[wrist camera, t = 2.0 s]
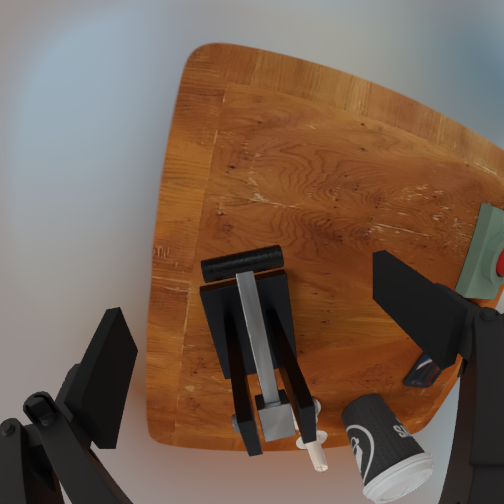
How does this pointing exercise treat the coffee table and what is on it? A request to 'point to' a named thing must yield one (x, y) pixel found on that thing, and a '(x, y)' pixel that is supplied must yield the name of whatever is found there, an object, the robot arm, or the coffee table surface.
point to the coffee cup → (384, 450)
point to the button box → (483, 256)
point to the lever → (257, 332)
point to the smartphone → (425, 370)
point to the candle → (314, 446)
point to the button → (500, 264)
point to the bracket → (241, 356)
